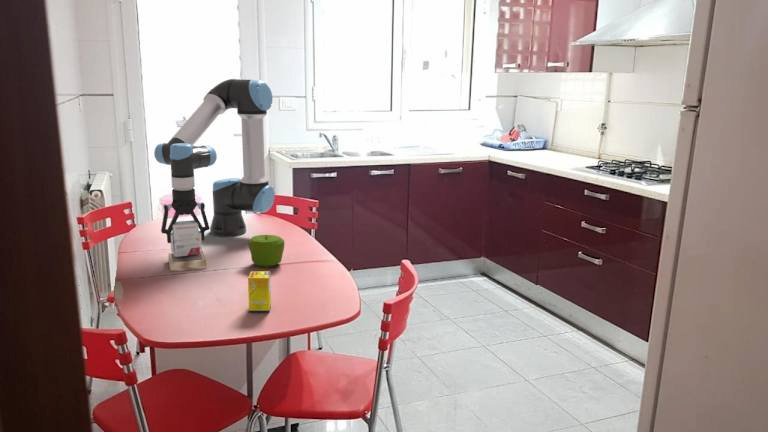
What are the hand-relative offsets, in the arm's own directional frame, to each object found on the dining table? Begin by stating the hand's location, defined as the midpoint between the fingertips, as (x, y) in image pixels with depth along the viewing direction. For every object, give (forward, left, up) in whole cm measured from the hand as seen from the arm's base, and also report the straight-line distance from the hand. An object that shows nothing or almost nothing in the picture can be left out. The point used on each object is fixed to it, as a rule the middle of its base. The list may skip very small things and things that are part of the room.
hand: (186, 250), depth 214 cm
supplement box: (-17, +49, -6) cm, 52 cm away
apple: (-27, +8, -6) cm, 29 cm away
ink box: (0, 0, -2) cm, 2 cm away
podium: (0, 0, -5) cm, 5 cm away
